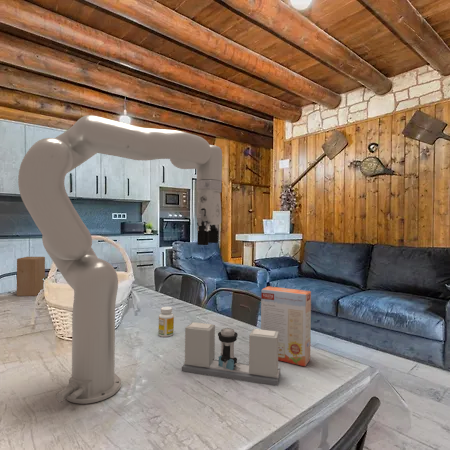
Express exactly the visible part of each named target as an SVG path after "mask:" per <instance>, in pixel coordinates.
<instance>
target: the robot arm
mask: <svg viewBox="0 0 450 450" xmlns="http://www.w3.org/2000/svg"><path fill="white" fill-rule="evenodd" d="M97 154H102V155H106V156H107V155H108V156H112V157H113V156H114V157H119V158H124V159H129V160H133V161H142V162H143V161H145V162H147V161H154V160H155V161H156V160H165V159H166V160H169V161H170V162H171V164H172V165H173V166H174V167H176V168H177V169H181V170H196V193H198V195H197V204H196V205H197V206H196V220H197V221H196V224H197V228H196V229H197V230H196V231H197V243H196V244H197V245H198V246H209V244H218V243H219V231H220V230H219V228H220V227H219V225H221V224H222V201H221V193H222V189H223V188H222V186H223V185H222V175H223V174H222V172H223V171H222V170H223V150H222V148H221V147H220V146H218V145H213V144H209V142H208V141H207V140H206V139H205V138H203V137H202V136H199V135H196V134H194V133H193V134H192V133H189V132H186V131H181V130H174V129H165V128H154V127H153V128H151V127H142V126H138V125H134V124H129V123H125V122H122V121H118V120H114V119H110V118H106V117H102V116H99V115H92V114H91V115H89V114H88V115H84V116H82V117H80V118H79V119H78V120H76V122H75V123H74V124H73V125H72V126H71V127H70V128H69V129H67V130H66V131H64V132H62V133H61V134H59V135H58V136H56V137H45V138H42V139H39V140H37V141H36V142H35V143H33V144H32V145H31V147H30V148H29V149H28V151H27V152H26V154H25V155H24V156H23V159H22V161H21V162H20V165H19V170H18V179H17V183H18V191H19V195H20V198H21V200H22V202H23V204H24V207H25V208H26V210H27V211H28V214H30V216H31V218H32V220H33V221H34V224H35V226H36V227H37V228H38V230H39V232H40V233H41V234H42V237H41V239H42V245H43V247H44V250H45V251H46V253H47V254H48V255H49V257H50V259H51V260H52V262H53V263H54V265H55V267H56V268H57V269H58V271H59V273H60V274H61V276H62V277H63V278H64V280H65V281H66V283H67V284H68V286H70V288H71V289H72V290H73V295H74V296H73V302H72V303H73V304H72V316H71V328H72V329H71V335H72V336H71V339H72V340H71V341H72V342H71V377H70V378H68V384H66V386H65V387H64V388H63V389H62V390H60V391H58V393H56V395H55V398H56V401H58V402H60V403H61V402H63V401H64V400H66V401H69V402H70V403H74V404H84V405H86V404H87V405H88V404H94V403H98V402H101V401H105V400H106V399H108V398H111V397H112V396H114V395H115V394H117V393H118V392H119V390H120V389H121V387H122V380H121V378H120V376H118V375H116V374H115V369H116V367H115V361H116V360H115V356H116V353H115V349H116V346H115V345H116V303H117V295H118V289H119V277H118V273H117V270H116V269H115V268H114V267H113V265H112V264H111V263H109V261H107V260H104V259H103V258H98V256H97V254H96V253H95V250H94V249H93V247H92V245H93V238H92V234H91V232H90V230H89V229H88V227H87V226H86V224H85V223H84V222H83V220H82V218H81V217H80V214H79V213H78V211H77V210H76V209H75V207H74V205H73V203H72V201H71V199H70V197H69V195H68V193H67V190H66V186H65V179H66V175H67V174H68V173H70V172H72V171H73V170H74V169H76V168H78V167H79V166H81V165H82V164H84V163H85V162H86V161H88V160H89V159H91V158H92V157H94V156H95V155H97Z"/></svg>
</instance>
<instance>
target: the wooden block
mask: <svg viewBox="0 0 450 450" xmlns="http://www.w3.org/2000/svg"><path fill="white" fill-rule="evenodd" d="M43 278H45V279H46V257H45V256H24V257H20V258H17V259H16V297H37V296H38V295H37V294H38V293H39V292H40V290H41V289H43V280H42V279H43Z"/></svg>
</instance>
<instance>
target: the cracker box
mask: <svg viewBox="0 0 450 450" xmlns="http://www.w3.org/2000/svg"><path fill="white" fill-rule="evenodd" d="M260 295H261V296H260V297H261V299H260V302H261V303H260V305H261V307H260V330H269V331H276V332H279V337H278V362H279V361H281V362H283V363H288V364H292V365H296V366H299V367H300V366H301V367H306V366H307V364H309V362H310V360H311V328H312V324H311V323H312V322H311V321H312V319H311V317H312V291H310V290H303V289H294V288H288V287H287V288H286V287H276V286H270V285H269V286H266V287H264V288H262V289H261V294H260Z"/></svg>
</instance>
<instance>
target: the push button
mask: <svg viewBox="0 0 450 450" xmlns="http://www.w3.org/2000/svg"><path fill="white" fill-rule="evenodd" d="M217 337H218V340H219V341H220V345H221V346H220V347H221V349H220V355H219V356H218V360H219V363H218V365H219V366H221V367H223V368H224V369H226V368H227V369H230V370H233V369H238V368H239V367H237V366H240V364H238V363H239V362H238V358H237V357H236V356H235V355H234V354H235V353H234V351H235V348H234V347H235V342H236V341H237V339H238V333H237V332H236V331H235V329H234V328H230V327H224V328H222V329H221V331H218V332H217ZM236 365H237V366H236ZM239 369H241V368H239Z"/></svg>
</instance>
